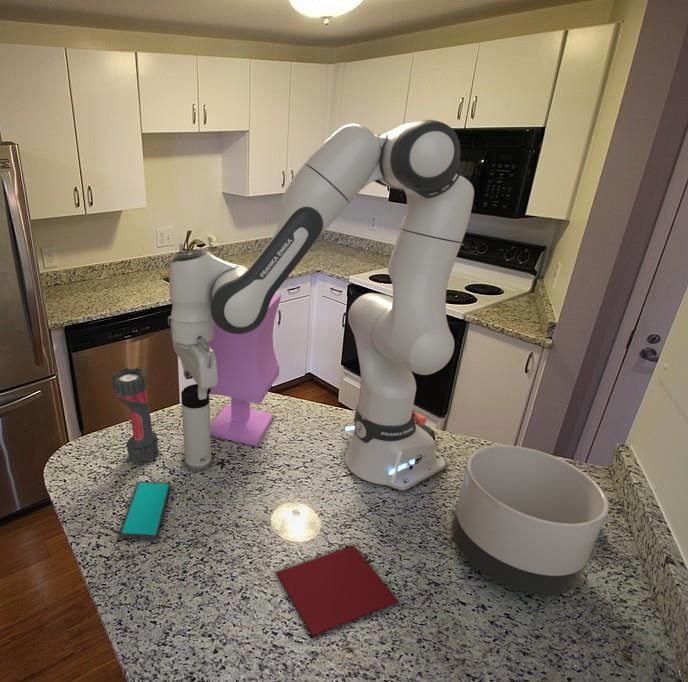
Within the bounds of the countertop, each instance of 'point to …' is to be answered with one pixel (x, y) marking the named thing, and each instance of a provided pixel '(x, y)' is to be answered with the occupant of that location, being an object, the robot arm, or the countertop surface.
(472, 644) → the countertop surface
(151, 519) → the smartphone
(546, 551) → the planter
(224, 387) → the vase
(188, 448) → the travel mug
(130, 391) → the flashlight
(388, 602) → the napkin
